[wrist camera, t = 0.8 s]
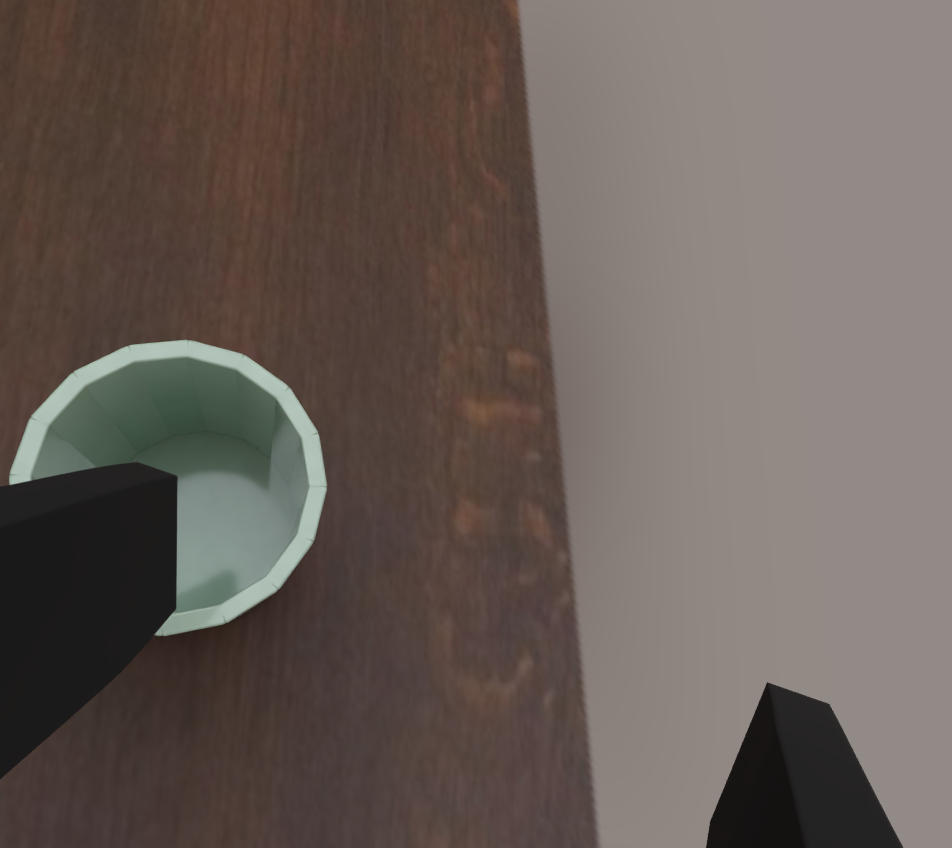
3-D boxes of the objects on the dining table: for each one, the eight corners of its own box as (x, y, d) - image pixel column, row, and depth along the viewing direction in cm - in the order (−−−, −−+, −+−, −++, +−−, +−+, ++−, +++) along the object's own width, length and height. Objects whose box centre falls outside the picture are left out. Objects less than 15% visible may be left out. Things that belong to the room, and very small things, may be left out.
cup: (160, 668, 22) (109, 697, 15) (52, 489, 23) (-51, 430, 15) (341, 552, 24) (378, 527, 17) (240, 390, 25) (232, 294, 17)
